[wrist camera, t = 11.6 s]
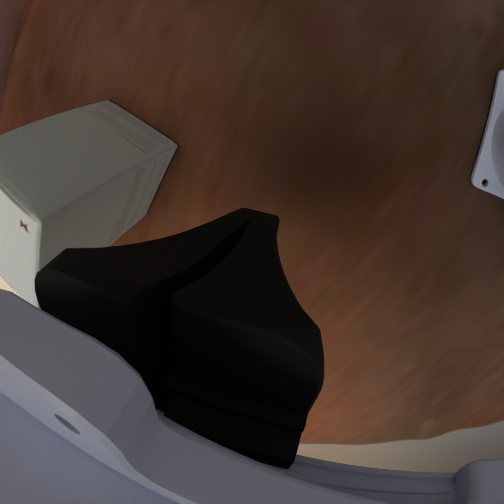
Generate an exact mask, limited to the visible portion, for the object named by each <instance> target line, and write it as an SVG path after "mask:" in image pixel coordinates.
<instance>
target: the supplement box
mask: <svg viewBox="0 0 504 504" xmlns="http://www.w3.org/2000/svg"><path fill="white" fill-rule="evenodd" d="M177 147H178V145H177V144H176V143H175V142H173V141H172V140H170V139H169V138H167V137H166V136H164V135H163V134H161V133H160V132H158V131H157V130H155V129H154V128H152V127H151V126H149V125H148V124H146V123H144V122H143V121H141V120H140V119H138V118H137V117H135V116H134V115H132V114H130V113H129V112H127V111H126V110H124V109H122V108H121V107H119V106H118V105H116V104H114V103H112V102H111V101H109V100H106V101H102V102H98V103H95V104H91V105H87V106H83V107H79V108H76V109H73V110H69V111H66V112H63V113H60V114H57V115H53V116H51V117H48V118H44V119H42V120H39V121H36V122H33V123H30V124H27V125H25V126H22V127H19V128H17V129H14V130H12V131H9V132H7V133H4V134H2V135H0V276H1V277H2V278H3V279H4V280H5V281H6V282H7V283H8V284H9V285H10V286H11V288H13V289H14V291H16V292H17V293H18V294H19V295H20V296H21V297H22V298H23V299H24V300H25V301H27V302H29V303H30V304H32V305H34V306H36V307H37V308H39V309H41V308H40V306H39V303H38V301H37V297H36V293H35V283H34V279H35V276H36V274H37V272H38V271H40V270H41V269H42V268H43V267H44V266H45V265H47V264H48V263H49V262H50V261H51V260H52V259H54V258H55V257H56V256H57V255H58V254H60V253H61V252H62V251H63V250H64V249H66V248H100V247H108V246H109V245H111V244H112V243H113V242H114V241H115V240H116V239H118V238H119V237H120V236H121V235H122V234H123V233H125V232H126V231H127V230H128V229H130V228H131V227H132V226H133V225H135V224H136V223H137V222H138V221H140V220H141V219H142V218H143V217H145V215H146V213H147V211H148V209H149V206H150V204H151V202H152V200H153V198H154V195H155V193H156V191H157V189H158V186H159V184H160V182H161V180H162V178H163V176H164V173H165V171H166V169H167V167H168V165H169V163H170V161H171V159H172V157H173V155H174V153H175V150H176V149H177Z"/></svg>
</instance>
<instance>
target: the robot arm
mask: <svg viewBox="0 0 504 504" xmlns="http://www.w3.org/2000/svg"><path fill="white" fill-rule="evenodd" d="M484 179H486V183H485V184H484V185H482V181H483V180H484ZM471 182H472V184H473V185H474V186H475V187H477V188H479V189H482V190H484V191H486V192H489V193H491V194H494V195H496V196H498V197H500V198H503V199H504V70H499V71H498V73H497V78H496V84H495V89H494V94H493V98H492V103H491V108H490V112H489V116H488V120H487V124H486V128H485V132H484V135H483V139H482V143H481V146H480V150H479V153H478V156H477V160H476V163H475V166H474V169H473V172H472V175H471ZM279 220H280V219H279V218H278V216H276V215H272V214H268V213H264V212H260V211H255V210H251V209H247V208H241V209H238V210H236V211H233V212H231V213H229V214H227V215H224V216H222V217H220V218H218V219H215V220H213V221H211V222H208V223H206V224H203V225H201V226H198V227H195V228H193V229H190V230H188V231H185V232H182V233H179V234H175V235H172V236H168V237H165V238H161V239H157V240H151V241H146V242H141V243H136V244H130V245H122V246H112V247H100V248H66V249H64V250H63V251H62V252H61V253H60V254H58V255H57V256H56V257H55V258H54V259H52V260H51V261H50V262H49V263H48V264H47V265H45V266H44V267H43V268H42V269H41V270H40V271H38V272H37V274H36V276H35V279H34V283H35V293H36V297H37V301H38V303H39V306H40V308H41V309H39V308H37V307H36V306H34V305H32V304H30V303H29V302H27V301H25V300H24V299H22V298H21V297H19V296H17V295H16V294H14V293H12V292H9V291H6V290H3V289H0V504H504V459H490V460H477V461H474V462H471V463H469V464H467V465H465V466H464V467H462V468H461V469H460V470H458V471H457V472H456V473H433V472H412V471H398V470H386V469H378V468H368V467H362V466H354V465H348V464H341V463H335V462H330V461H325V460H319V459H314V458H309V457H304V456H300V455H296V454H297V450H298V446H299V441H300V437H301V433H302V432H303V430H304V428H305V425H306V420H307V416H308V413H309V411H310V409H311V407H312V406H313V404H314V402H315V400H316V399H317V397H318V395H319V393H320V391H321V388H322V385H323V380H324V353H323V345H322V338H321V333H320V329H319V328H318V326H317V325H316V324H315V323H314V322H313V320H312V319H311V318H310V317H309V316H308V315H307V314H306V312H305V311H304V310H303V309H302V307H301V306H300V304H299V303H298V301H297V299H296V297H295V295H294V293H293V292H292V290H291V288H290V286H289V284H288V282H287V279H286V277H285V274H284V271H283V268H282V265H281V262H280V258H279V253H278V247H277V238H276V236H277V231H278V225H279Z"/></svg>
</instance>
